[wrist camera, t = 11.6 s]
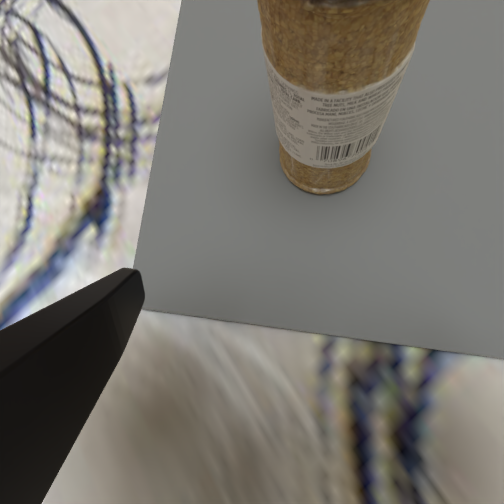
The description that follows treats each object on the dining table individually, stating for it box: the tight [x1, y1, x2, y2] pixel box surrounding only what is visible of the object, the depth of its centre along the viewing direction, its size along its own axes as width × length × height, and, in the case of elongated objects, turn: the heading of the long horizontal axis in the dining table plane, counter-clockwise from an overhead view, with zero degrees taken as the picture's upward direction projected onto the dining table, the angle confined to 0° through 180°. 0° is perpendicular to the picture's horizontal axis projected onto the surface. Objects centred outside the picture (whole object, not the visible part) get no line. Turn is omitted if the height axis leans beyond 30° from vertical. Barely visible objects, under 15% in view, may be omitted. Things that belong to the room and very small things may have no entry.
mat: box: [133, 0, 504, 359], centre depth 19 cm, size 18×18×1 cm
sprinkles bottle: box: [257, 0, 430, 195], centre depth 12 cm, size 5×5×14 cm
